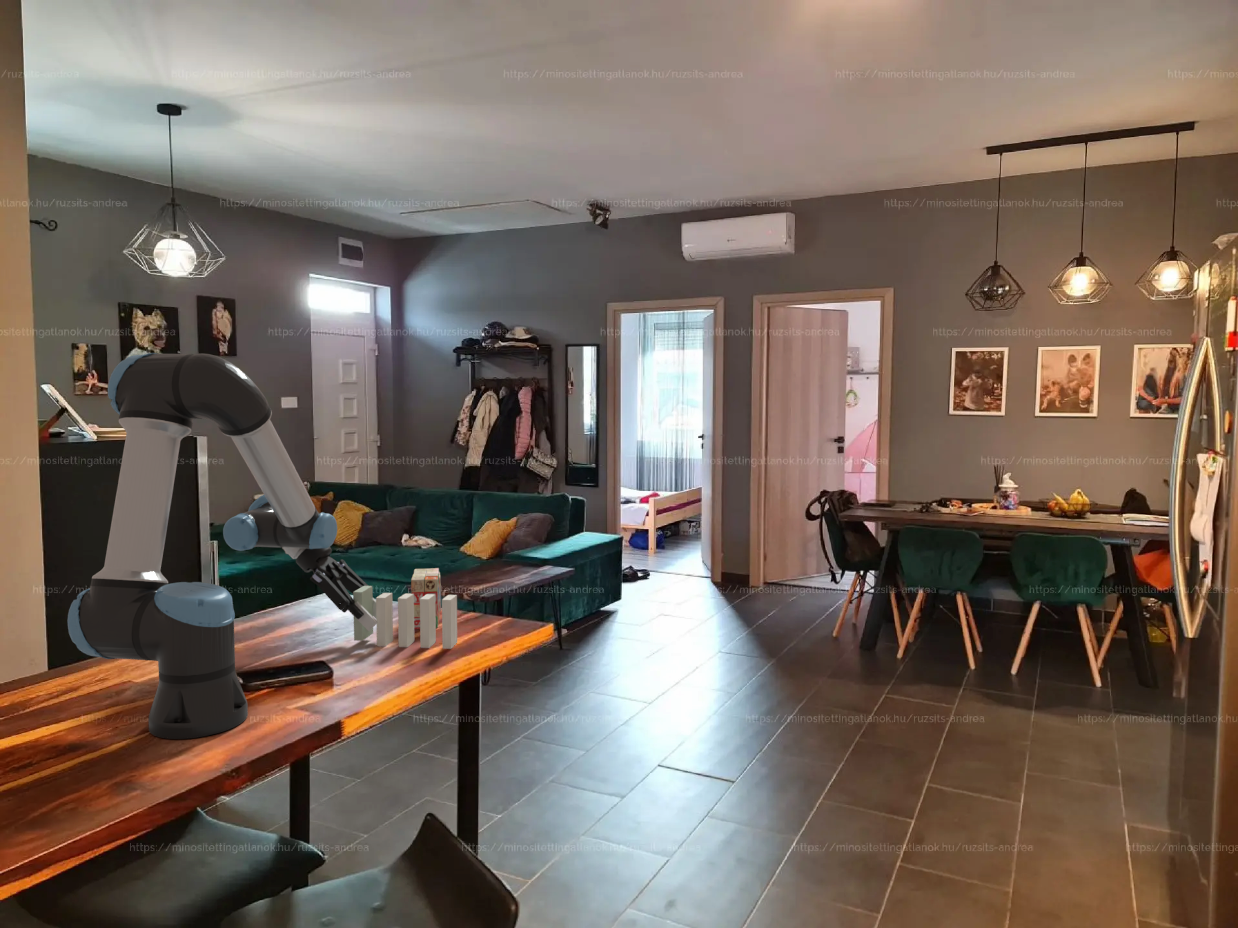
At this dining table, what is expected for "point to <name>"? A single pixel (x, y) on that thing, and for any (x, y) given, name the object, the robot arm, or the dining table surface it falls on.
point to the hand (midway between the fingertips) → (379, 622)
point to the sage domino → (366, 600)
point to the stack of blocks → (426, 591)
